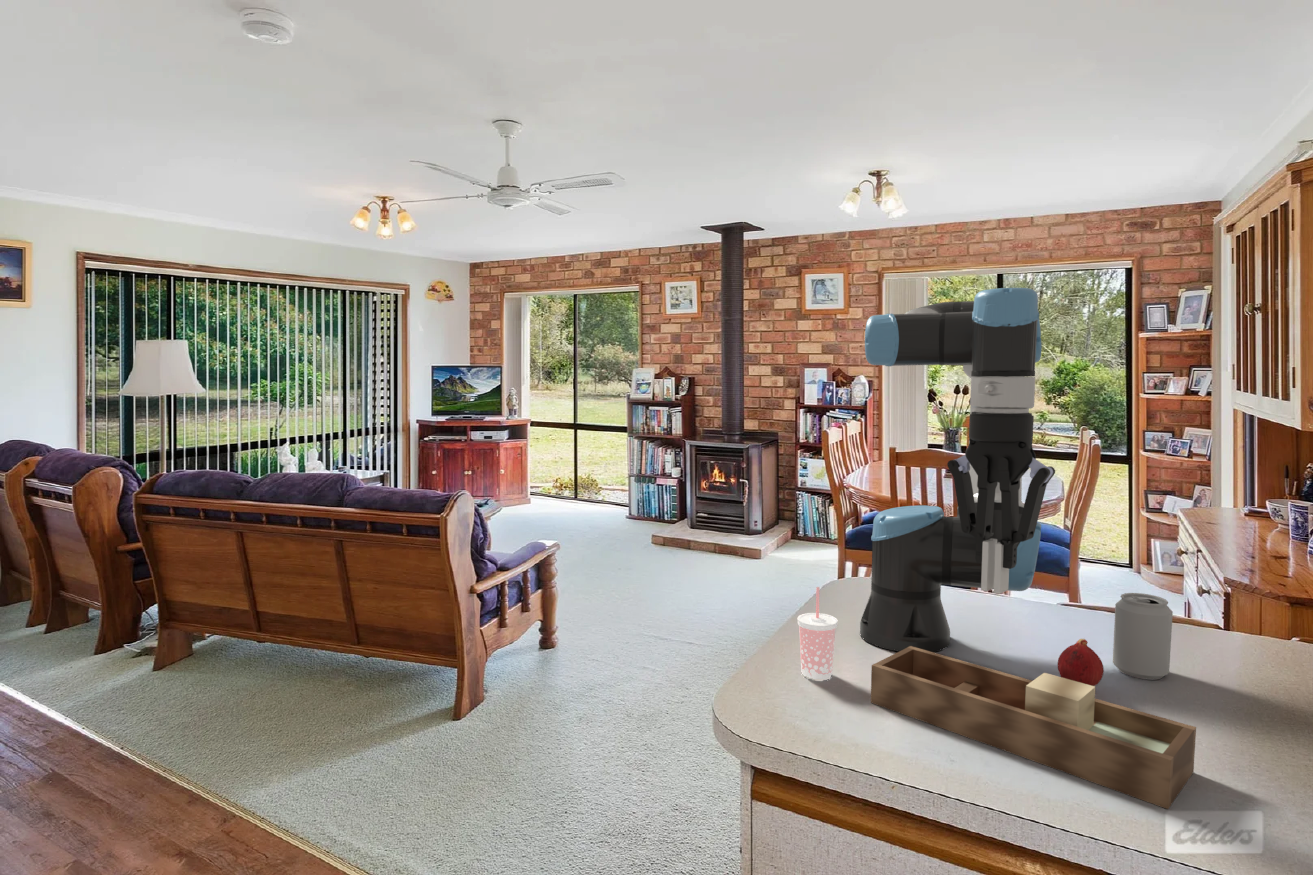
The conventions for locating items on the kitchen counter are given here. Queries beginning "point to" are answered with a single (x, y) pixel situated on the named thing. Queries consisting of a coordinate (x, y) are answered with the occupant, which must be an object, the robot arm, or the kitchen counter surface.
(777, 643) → the kitchen counter surface
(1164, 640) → the can
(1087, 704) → the maple block
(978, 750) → the kitchen counter surface
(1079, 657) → the onion
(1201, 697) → the kitchen counter surface
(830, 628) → the beverage cup
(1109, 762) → the wooden compartment tray
